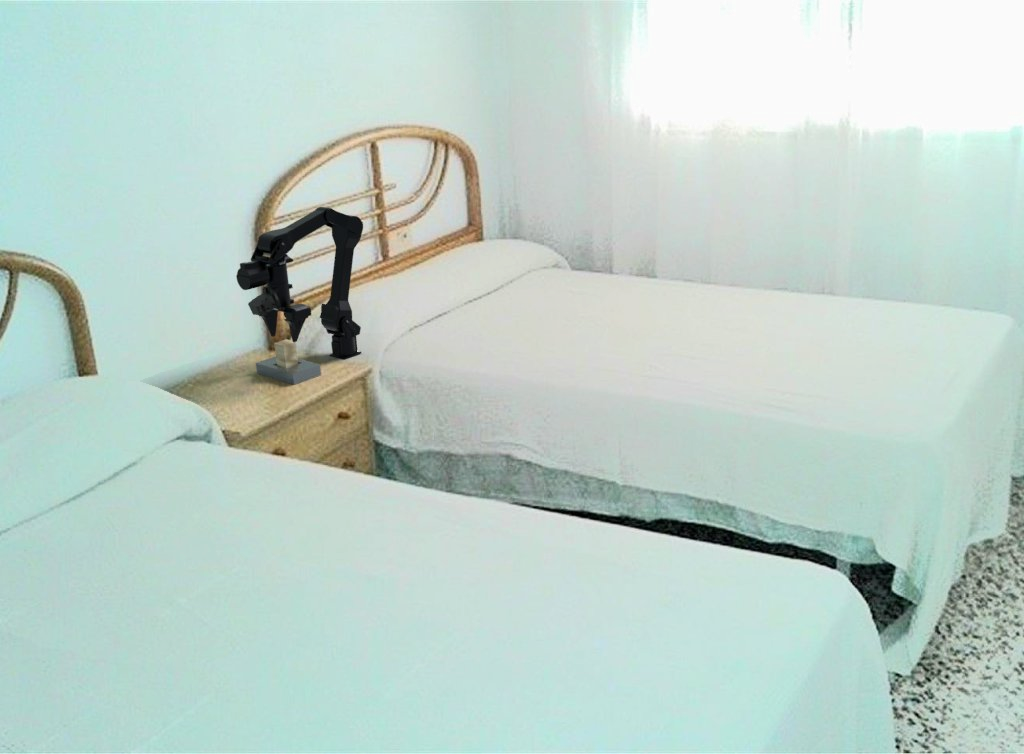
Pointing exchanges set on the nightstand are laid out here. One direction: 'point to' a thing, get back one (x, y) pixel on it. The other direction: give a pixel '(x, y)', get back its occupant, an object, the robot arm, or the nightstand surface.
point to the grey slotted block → (288, 370)
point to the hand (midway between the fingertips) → (284, 338)
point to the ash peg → (286, 353)
